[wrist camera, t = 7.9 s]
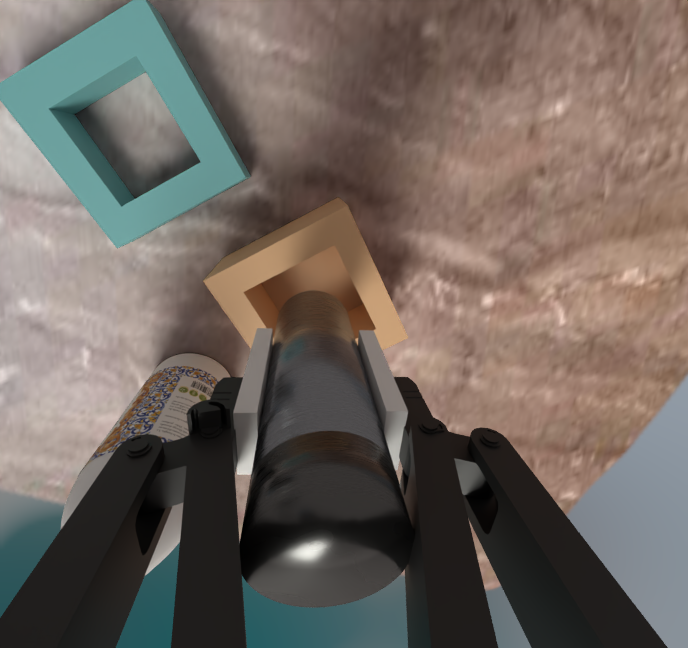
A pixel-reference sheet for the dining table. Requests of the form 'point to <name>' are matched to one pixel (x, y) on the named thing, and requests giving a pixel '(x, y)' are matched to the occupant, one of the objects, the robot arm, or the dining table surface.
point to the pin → (321, 470)
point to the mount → (98, 81)
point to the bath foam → (155, 428)
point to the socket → (306, 275)
